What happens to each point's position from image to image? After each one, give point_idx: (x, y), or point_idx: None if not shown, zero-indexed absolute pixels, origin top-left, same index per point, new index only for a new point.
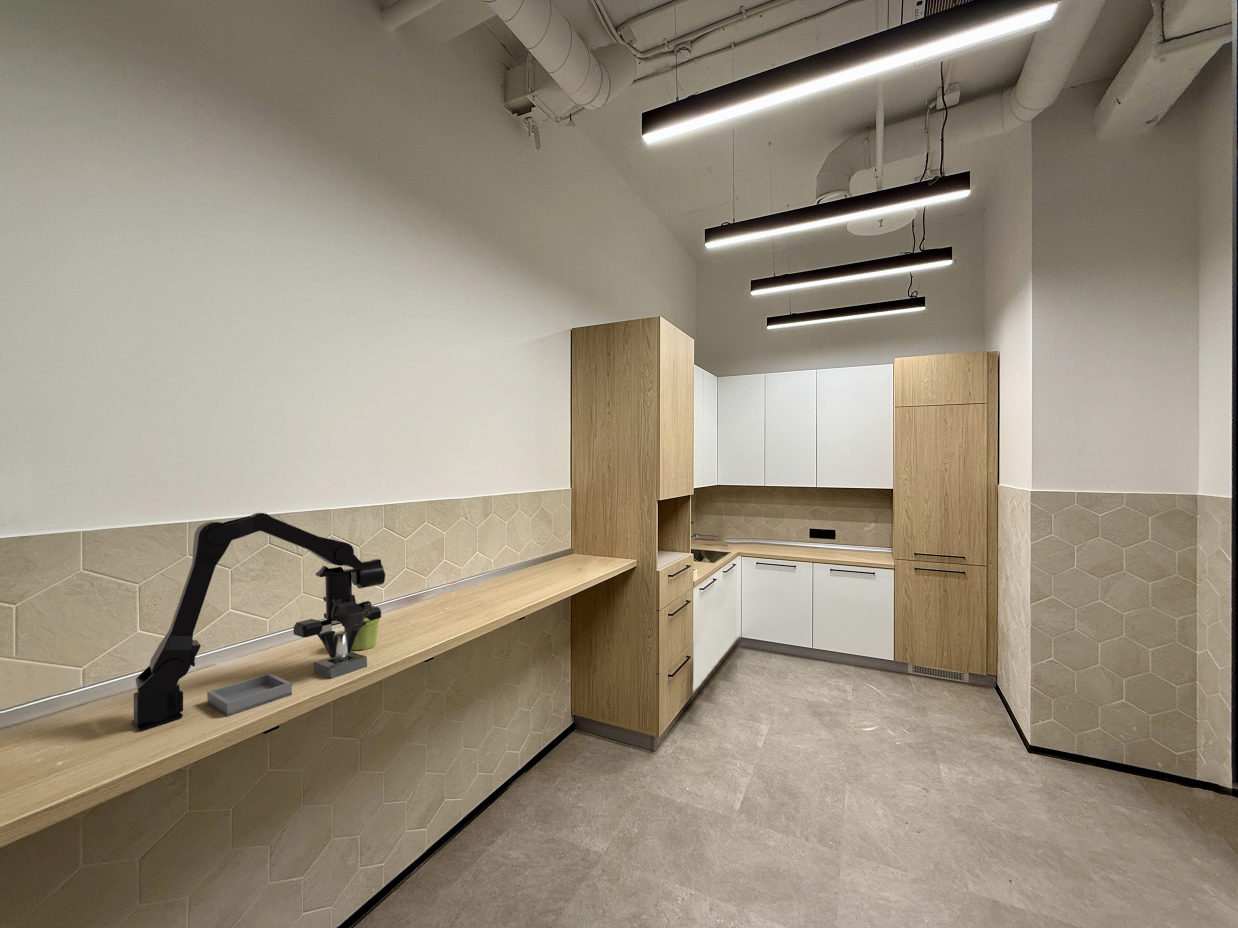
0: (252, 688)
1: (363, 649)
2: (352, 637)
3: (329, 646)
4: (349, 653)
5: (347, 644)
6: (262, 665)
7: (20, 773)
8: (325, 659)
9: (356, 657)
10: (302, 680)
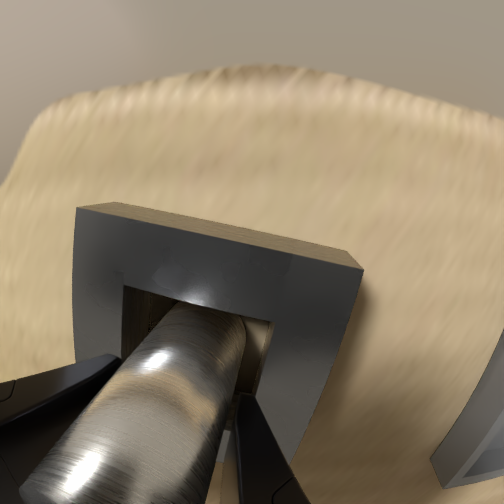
0: (488, 445)
1: None
2: (20, 400)
3: (290, 472)
4: None
5: (96, 395)
6: None
7: None
8: None
9: (114, 275)
10: (392, 389)
